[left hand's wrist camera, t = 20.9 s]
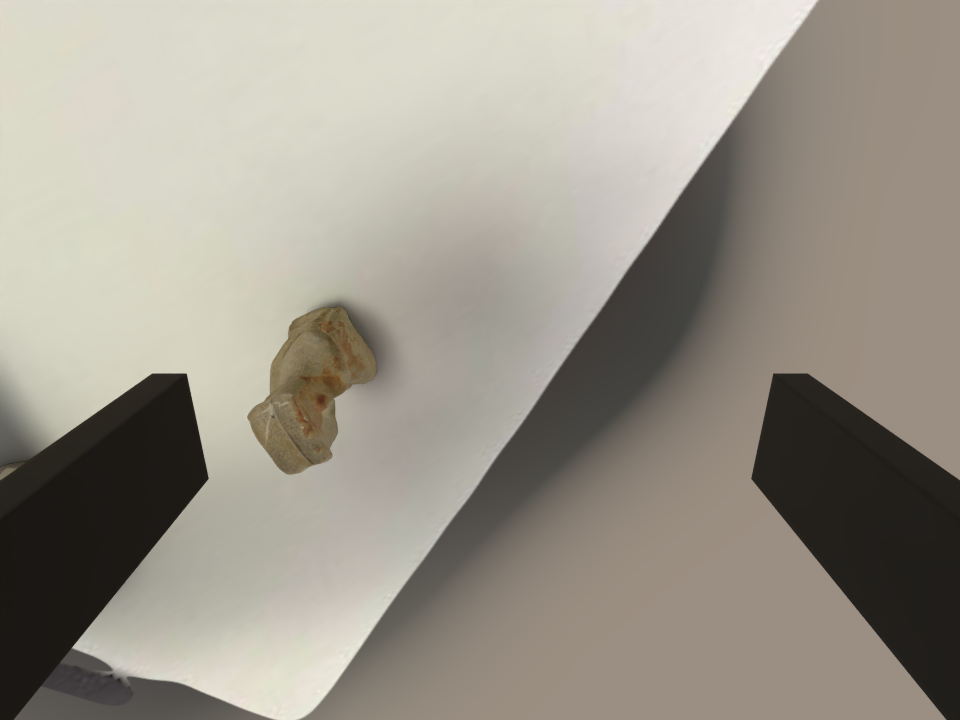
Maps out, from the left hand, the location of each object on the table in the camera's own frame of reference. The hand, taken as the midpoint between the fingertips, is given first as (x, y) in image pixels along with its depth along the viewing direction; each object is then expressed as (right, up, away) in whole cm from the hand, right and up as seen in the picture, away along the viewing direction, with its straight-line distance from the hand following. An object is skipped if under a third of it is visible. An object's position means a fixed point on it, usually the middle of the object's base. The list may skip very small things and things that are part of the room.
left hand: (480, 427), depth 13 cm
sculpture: (-12, +3, +33) cm, 35 cm away
